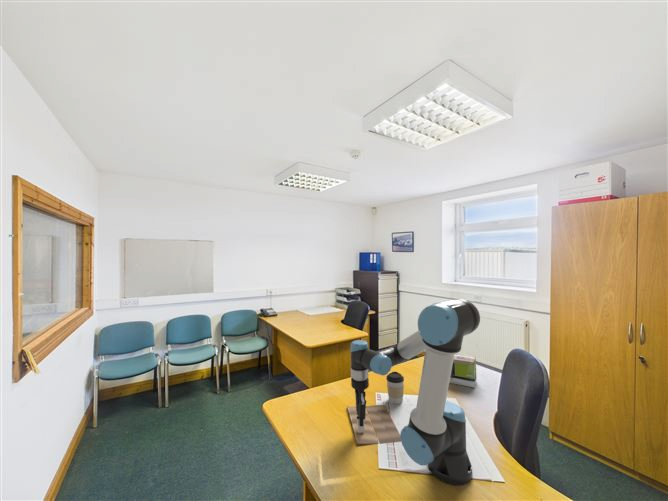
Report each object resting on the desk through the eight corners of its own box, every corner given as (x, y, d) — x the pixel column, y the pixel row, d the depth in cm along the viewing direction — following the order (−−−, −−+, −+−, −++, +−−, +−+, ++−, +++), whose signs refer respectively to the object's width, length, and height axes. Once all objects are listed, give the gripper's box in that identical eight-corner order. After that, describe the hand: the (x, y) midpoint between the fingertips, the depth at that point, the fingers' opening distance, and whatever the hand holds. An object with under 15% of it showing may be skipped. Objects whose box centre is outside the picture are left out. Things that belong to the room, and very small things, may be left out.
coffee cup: (405, 408, 144) (404, 378, 144) (386, 406, 146) (386, 377, 146) (404, 398, 153) (403, 371, 153) (387, 397, 155) (386, 370, 155)
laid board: (403, 444, 118) (403, 441, 118) (379, 446, 117) (379, 443, 117) (384, 407, 146) (384, 404, 146) (365, 408, 145) (365, 406, 145)
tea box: (476, 381, 170) (476, 356, 170) (474, 388, 162) (474, 362, 162) (450, 376, 178) (449, 352, 178) (446, 382, 170) (446, 357, 170)
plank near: (378, 446, 117) (378, 442, 117) (357, 446, 116) (357, 443, 116) (370, 425, 130) (371, 423, 130) (351, 425, 129) (351, 422, 129)
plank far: (370, 425, 131) (370, 422, 131) (351, 425, 130) (351, 422, 130) (364, 409, 144) (364, 406, 144) (347, 408, 143) (347, 406, 143)
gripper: (371, 383, 117) (373, 441, 117) (365, 370, 130) (366, 421, 130) (353, 385, 116) (355, 442, 116) (348, 371, 129) (349, 423, 129)
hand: (360, 431), depth 123 cm, fingers closed
